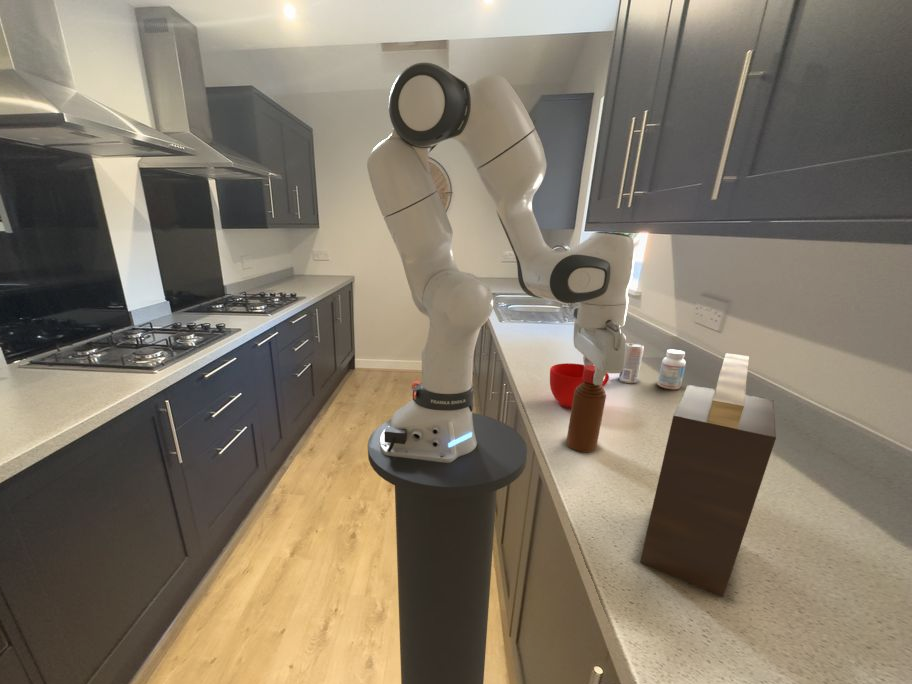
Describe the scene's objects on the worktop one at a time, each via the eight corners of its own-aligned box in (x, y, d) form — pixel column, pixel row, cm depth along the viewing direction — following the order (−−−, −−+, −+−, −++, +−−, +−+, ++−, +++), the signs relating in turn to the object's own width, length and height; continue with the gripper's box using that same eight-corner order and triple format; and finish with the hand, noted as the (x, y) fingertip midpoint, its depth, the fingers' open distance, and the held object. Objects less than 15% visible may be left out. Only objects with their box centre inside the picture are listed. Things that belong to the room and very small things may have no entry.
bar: (721, 370, 68) (725, 353, 67) (744, 373, 67) (749, 356, 66) (706, 422, 50) (712, 400, 49) (737, 429, 49) (744, 406, 48)
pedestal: (657, 514, 71) (687, 384, 63) (729, 539, 65) (773, 399, 57) (639, 562, 61) (673, 415, 53) (723, 596, 55) (776, 437, 47)
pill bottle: (668, 382, 131) (676, 348, 127) (685, 388, 125) (693, 353, 121) (652, 384, 130) (659, 349, 126) (668, 390, 124) (676, 355, 120)
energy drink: (627, 377, 136) (634, 342, 132) (641, 382, 131) (648, 346, 127) (614, 379, 135) (620, 343, 130) (628, 384, 130) (634, 347, 126)
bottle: (571, 451, 91) (583, 376, 85) (562, 437, 97) (573, 366, 91) (600, 452, 91) (615, 376, 84) (590, 438, 97) (603, 366, 90)
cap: (598, 377, 90) (601, 365, 89) (605, 384, 86) (608, 371, 85) (579, 376, 90) (581, 364, 89) (585, 383, 87) (587, 371, 86)
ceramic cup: (618, 409, 112) (625, 375, 109) (561, 414, 110) (565, 379, 106) (591, 392, 124) (595, 361, 121) (538, 396, 122) (541, 364, 118)
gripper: (640, 327, 74) (627, 398, 78) (600, 307, 93) (592, 365, 97) (603, 327, 74) (593, 398, 79) (571, 307, 93) (564, 365, 98)
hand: (592, 379), depth 88 cm, fingers closed on cap, 4 cm apart
